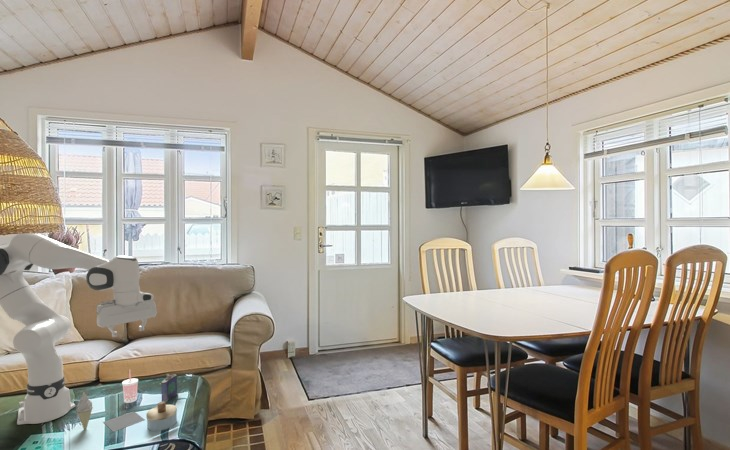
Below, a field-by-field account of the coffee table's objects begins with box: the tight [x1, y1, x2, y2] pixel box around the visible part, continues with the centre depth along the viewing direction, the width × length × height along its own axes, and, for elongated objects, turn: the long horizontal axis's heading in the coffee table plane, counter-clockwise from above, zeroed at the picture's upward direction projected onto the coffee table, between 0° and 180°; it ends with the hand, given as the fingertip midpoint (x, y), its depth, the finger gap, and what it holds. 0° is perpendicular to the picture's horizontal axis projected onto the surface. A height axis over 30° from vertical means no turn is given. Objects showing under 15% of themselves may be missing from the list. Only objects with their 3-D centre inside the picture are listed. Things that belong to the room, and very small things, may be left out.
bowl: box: [146, 411, 178, 432], centre depth 154 cm, size 10×10×4 cm
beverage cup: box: [121, 369, 139, 404], centre depth 174 cm, size 6×6×14 cm
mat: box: [103, 410, 145, 433], centre depth 156 cm, size 11×11×1 cm
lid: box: [145, 401, 178, 421], centre depth 154 cm, size 10×10×4 cm
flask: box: [160, 373, 178, 402], centre depth 176 cm, size 9×3×11 cm, turn 172°
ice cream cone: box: [75, 391, 94, 431], centre depth 151 cm, size 5×5×15 cm
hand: (128, 333), depth 155 cm, fingers open, 8 cm apart
